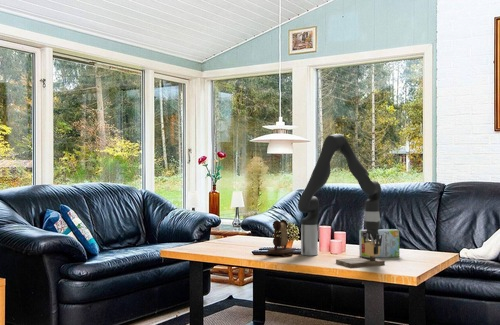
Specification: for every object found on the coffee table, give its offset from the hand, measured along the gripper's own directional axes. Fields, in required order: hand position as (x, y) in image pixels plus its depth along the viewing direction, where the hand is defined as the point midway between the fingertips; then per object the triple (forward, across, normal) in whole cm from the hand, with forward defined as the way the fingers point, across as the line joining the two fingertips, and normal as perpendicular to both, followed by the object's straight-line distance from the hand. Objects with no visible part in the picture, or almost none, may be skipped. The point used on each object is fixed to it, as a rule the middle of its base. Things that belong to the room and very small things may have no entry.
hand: (372, 253), depth 281 cm
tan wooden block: (+1, 0, 0) cm, 1 cm away
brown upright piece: (+6, -47, -30) cm, 56 cm away
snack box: (+6, -20, +18) cm, 28 cm away
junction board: (+6, -3, -6) cm, 8 cm away
